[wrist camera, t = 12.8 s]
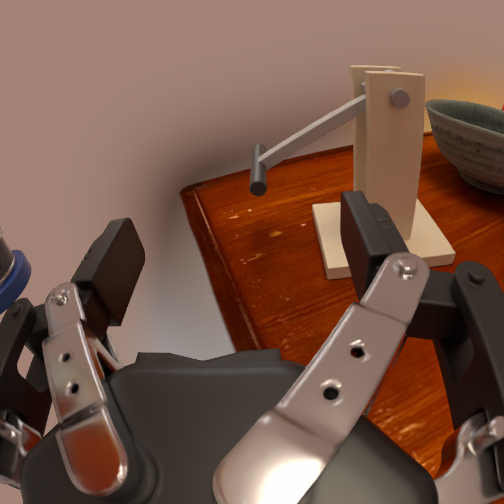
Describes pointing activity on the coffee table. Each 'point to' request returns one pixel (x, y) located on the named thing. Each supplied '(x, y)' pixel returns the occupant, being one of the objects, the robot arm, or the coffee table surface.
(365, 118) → the bracket
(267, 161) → the grey t-shaped bar
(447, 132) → the bowl
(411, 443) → the coffee table surface
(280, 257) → the coffee table surface
